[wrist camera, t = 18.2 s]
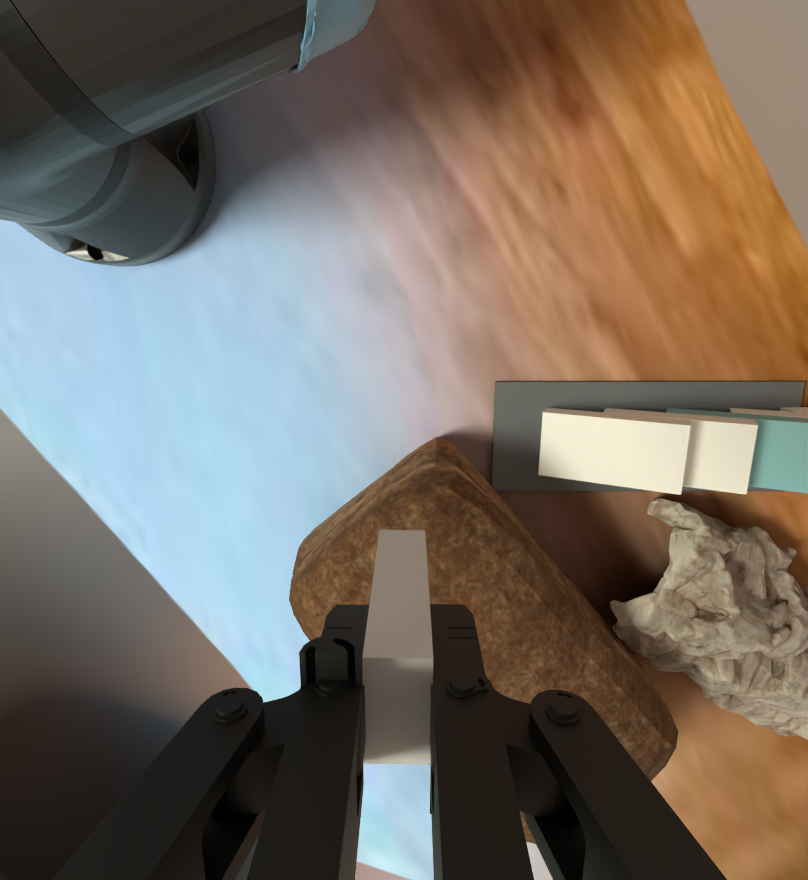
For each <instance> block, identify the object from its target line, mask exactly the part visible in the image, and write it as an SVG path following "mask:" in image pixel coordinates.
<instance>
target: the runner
mask: <svg viewBox="0 0 808 880" xmlns="http://www.w3.org/2000/svg"><path fill="white" fill-rule="evenodd" d="M804 386H805V382H803V381H548V382H495V401H494V426H493V452H492V477H491V486H492V487H493V488H494V489H495V490H496V491H649V490H642V489H635V488H628V487H621V486H614V485H607V484H599V483H592V482H585V481H578V480H571V479H564V478H557V477H550V476H542V475H538V473H539V459H540V444H541V430H542V416H543V412H544V411H545V410H546V409H547V408H558V409H570V410H581V411H592V412H604V410H605V409H606V408H614V409H627V410H639V411H652V412H664V413H666V410H667V408H677V409H691V410H704V411H718V412H729V411H730V408H741V409H757V410H773V411H780V407H801V402H802V397H803V391H804ZM682 491H715V490H707V489H699V488H692V487H684V486H682ZM747 491H784V490H776V489H768V488H760V487H751V486H748V489H747Z"/></svg>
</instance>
